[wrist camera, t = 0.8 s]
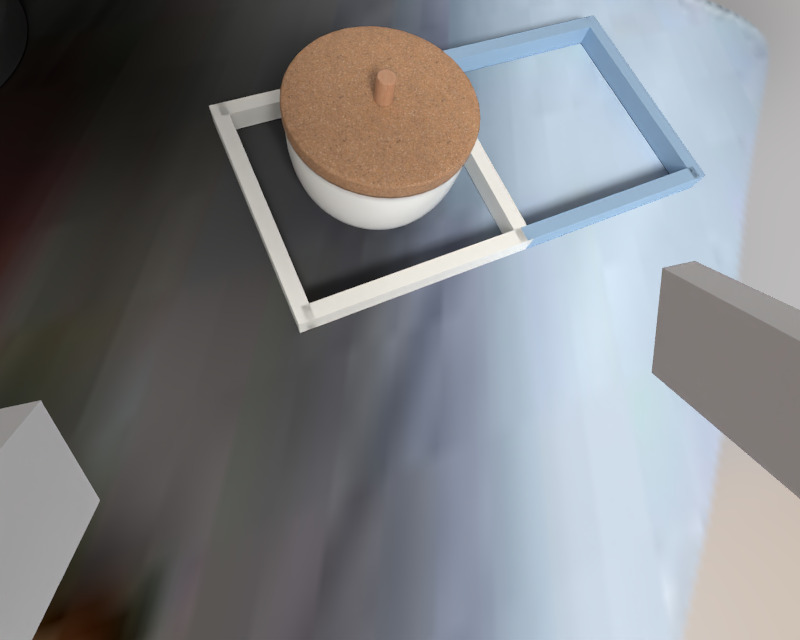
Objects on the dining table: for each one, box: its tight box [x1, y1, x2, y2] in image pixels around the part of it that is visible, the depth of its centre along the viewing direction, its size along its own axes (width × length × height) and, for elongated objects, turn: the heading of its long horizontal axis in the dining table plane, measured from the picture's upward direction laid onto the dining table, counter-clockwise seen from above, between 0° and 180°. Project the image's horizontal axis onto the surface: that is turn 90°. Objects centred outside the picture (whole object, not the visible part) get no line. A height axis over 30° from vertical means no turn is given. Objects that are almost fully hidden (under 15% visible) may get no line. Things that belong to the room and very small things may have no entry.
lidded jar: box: [280, 26, 480, 230], centre depth 29 cm, size 11×11×9 cm
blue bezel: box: [443, 15, 705, 249], centre depth 37 cm, size 16×16×2 cm
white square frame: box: [209, 89, 533, 333], centre depth 33 cm, size 16×16×2 cm
